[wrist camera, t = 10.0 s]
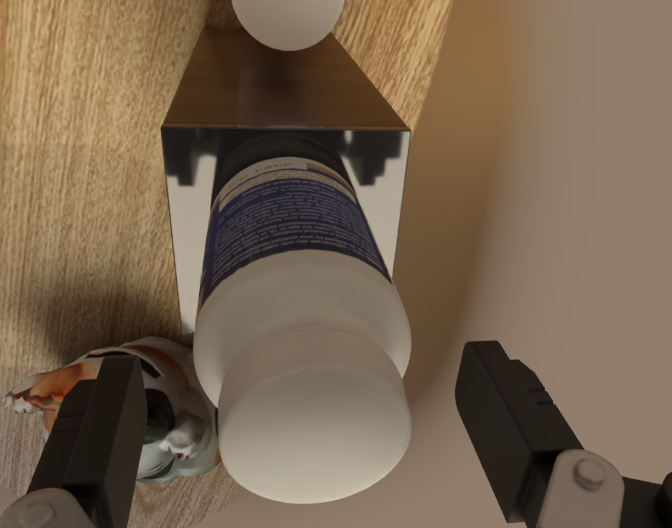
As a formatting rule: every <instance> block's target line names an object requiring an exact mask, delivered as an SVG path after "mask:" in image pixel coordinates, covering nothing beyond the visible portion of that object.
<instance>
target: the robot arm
mask: <svg viewBox="0 0 672 528" xmlns="http://www.w3.org/2000/svg"><path fill="white" fill-rule="evenodd" d="M455 399H456V405H457V409H458V412H459V414H460V417H461V419H462V421H463V423H464V426H465V428H466V430H467V433H468V435H469V437H470V439H471V442H472V444H473V446H474V448H475V451H476V453H477V455H478V458H479V460H480V462H481V465H482V467H483V469H484V471H485V474H486V476H487V478H488V480H489V483H490V485H491V487H492V490H493V492H494V494H495V497H496V499H497V501H498V503H499V506H500V508H501V510H502V512H503V515H504V517H505V519H506V522H507V523H515V522H525V524H526V526H527V528H672V472H671V473H669V474H668V475H667V476H666V477H665V479H664V481H663V483H662V485H661V484H656V483H651V482H646V481H640V480H636V479H630V478H627V477H623V476H621V475H620V473H619V472H618V470H616V468H615V467H614V466H613V465H612V464H611V463H610V462H608V461H607V460H606V459H604V458H603V457H601V456H599V455H597V454H595V453H593V452H590V451H586V450H584V448H583V447H582V445H581V444H580V442H579V440H578V439H577V437H576V436H575V434H574V433H573V431H572V430H571V428H570V427H569V425H568V423H567V422H566V420H565V419H564V417H563V416H562V414H561V413H560V411H559V409H558V408H557V406H556V405H555V404H553V400H552V399H551V397H550V396H549V394H548V392H547V391H545V388H544V386H543V385H542V383H541V382H540V380H539V379H538V377H537V376H536V374H535V373H534V372H533V371H532V370H531V369H529V368H528V367H527V366H526V365H524V364H523V363H522V362H521V361H520V360H510V359H509V358H508V356H507V354H506V353H505V351H504V349H503V348H502V346H501V345H500V343H499V342H498V341H495V340H494V341H471V342H467V343H466V344H465V346H464V350H463V354H462V359H461V363H460V368H459V373H458V377H457V382H456V387H455ZM146 426H147V401H146V394H145V388H144V381H143V375H142V368H141V362H140V358H139V356H138V355H121V356H105V357H104V358H103V360H102V363H101V366H100V369H99V372H98V375H97V378H96V379H82V380H79V381H78V382H77V383H76V384H75V385H74V386H73V387H72V388H71V390H70V391H69V392H68V393H67V394H66V395H65V396H64V398H63V400H62V403H61V406H60V408H59V411H58V413H57V418H55V421H54V424H53V426H52V429H51V434H49V437H48V439H47V442H46V444H45V447H44V450H43V452H42V455H41V457H40V460H39V462H38V465H37V468H36V470H35V473H34V475H33V478H32V481H31V483H30V486H29V488H28V491H27V493H26V495H24V496H22V497H21V498H19V499H18V500H16V501H15V502H14V503H12V504H11V505H10V506H9V507H8V508H7V509H6V510H5V511H4V512H3V514H2V515H1V516H0V528H127V523H128V518H129V513H130V508H131V503H132V498H133V493H134V488H135V483H136V478H137V473H138V468H139V463H140V458H141V453H142V447H143V442H144V437H145V432H146Z"/></svg>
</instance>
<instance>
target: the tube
mask: <svg viewBox="0 0 672 528" xmlns="http://www.w3.org/2000/svg"><path fill="white" fill-rule="evenodd" d="M344 2H345V0H232V4H233V8H234V10H235V13H236V15H237V17H238V19H239V21H240V22H241V24H242V25H243V27H244V28H245V29H246V30H247V31H248V32H249V33H250V35H251V36H252V37H254V38H255V39H257V40H258V41H259V42H261V43H262V44H264V45H267V46H269V47H271V48H274V49H279V50H283V51H296V50H300V49H305V48H308V47H310V46H312V45H315V44H316V43H318V42H319V41H321V40H322V39H324V38H325V37H326V36H327V35H328V34H329V33H330V32H331V30H332V29H333V28H334V26H335V25H336V23H337V22H338V20H339V17H340V15H341V13H342V10H343V6H344Z"/></svg>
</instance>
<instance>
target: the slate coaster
mask: <svg viewBox="0 0 672 528" xmlns="http://www.w3.org/2000/svg"><path fill="white" fill-rule="evenodd" d="M160 129H161V138H162V148H163V158H164V167H165V177H166V187H167V197H168V206H169V216H170V226H171V236H172V245H173V255H174V265H175V274H176V284H177V294H178V304H179V313H180V323H181V332H182V333H194V329H195V321H196V313H197V306H198V299H199V290H200V280H201V274H202V266H203V258H204V251H205V242H206V236H207V229H208V222H209V217H210V213H211V210H212V207H213V204H214V201H215V199H216V197H217V196H218V194H219V193H220V191H221V190H222V188H223V187H224V186H225V185H226V184H227V183H228V182H229V181H230V180H231V179H232V178H233V177H234V176H235V175H236V174H238V173H239V172H241V171H242V170H244V169H245V168H247V167H249V166H251V165H253V164H256V163H258V162H261V161H265V160H269V159H273V158H280V157H297V158H305V159H310V160H313V161H316V162H319V163H321V164H323V165H325V166H327V167H329V168H331V169H332V170H334V171H335V172H337V173H338V174H339V175H340V176H341V177H342V178H344V179H345V181H346V182H347V183H348V184H349V186H350V187H351V188H352V190H353V191H354V192H355V194H356V196H357V198H358V200H359V202H360V205H361V207H362V209H363V211H364V213H365V216H366V218H367V220H368V223H369V225H370V227H371V230H372V232H373V235H374V237H375V239H376V242H377V244H378V247H379V249H380V252H381V254H382V257H383V259H384V262H385V264H386V266H387V269H388V271H389V274H390V276H391V278H392V280H393V272H394V263H395V256H396V247H397V240H398V232H399V224H400V216H401V208H402V200H403V193H404V185H405V177H406V169H407V161H408V153H409V145H410V137H411V130H410V128H409V127H373V126H306V125H239V124H173V123H163V124H162V125H161V128H160Z"/></svg>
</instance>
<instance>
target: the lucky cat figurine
mask: <svg viewBox="0 0 672 528" xmlns="http://www.w3.org/2000/svg"><path fill="white" fill-rule="evenodd" d="M121 355H138V356H139V358H140V362H141V368H142V375H143V381H144V388H145V394H146V401H147V426H146V432H145V437H144V442H143V447H142V453H141V458H140V463H139V468H138V473H137V478H136V483H142V484H152V483H157V482H168V481H171V480H173V479H175V478H177V477H179V476H196V475H200V474H202V473H207V472H209V471H210V470H212V469H213V468H214V467H216V466H217V465H218V464H219V463H220V462H221V461H222V459H221V456H220V452H219V446H218V408H217V407H216V406H215V405H214V404H213V403H212V401H211V400H210V399H209V398H208V396H207V395H206V393H205V391H204V390H203V388H202V386H201V384H200V382H199V379H198V377H197V374H196V370H195V366H194V359H193V349H192V348H190V347H187V346H184V345H181V344H179V343H176V342H174V341H172V340H170V339H167V338H163V337H157V336H147V337H144V338H142V339H139V340H136V341H133V342H130V343H124V344H122V345H121V346H119V347H114V346H109V347H106V348H101V349H96V350H93V351H90V352H89V353H87V354H85V355H83V356H81V357H80V358H78V359H77V360H76V361H74V362H72V363H70V364H68V365H66V366H64V367H61V368H59V369H56V370H54V371H51V372H47V373H38V374H35V375H32V376H30V377H28V378H26V379H25V380H24V381H23V382H22V384H20V385H19V386H17V387H16V388H15V389H13V390H12V391H11V392H9V393H8V394H7V395H5V397H6V400H5V403H4V407H6V408H7V407H8V406H10V407H11V408H12V409H13V410H14V411H15V412H16V413H17V414H23V413H30V414H31V413H34V412H36V411H37V412H39V413H40V414H43V432H44V438H45V442H47V439H48V437H49V434H51V429H52V426H53V424H54V421H55V418H57V413H58V411H59V408H60V406H61V403H62V400H63V398H64V396H65V395H66V394H67V393H68V392H69V391H70V390H71V388H72V387H73V386H74V385H75V384H76V383H77V382H78V381H79V380H82V379H96V378H97V375H98V372H99V369H100V366H101V363H102V360H103V358H104V357H105V356H121Z"/></svg>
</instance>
